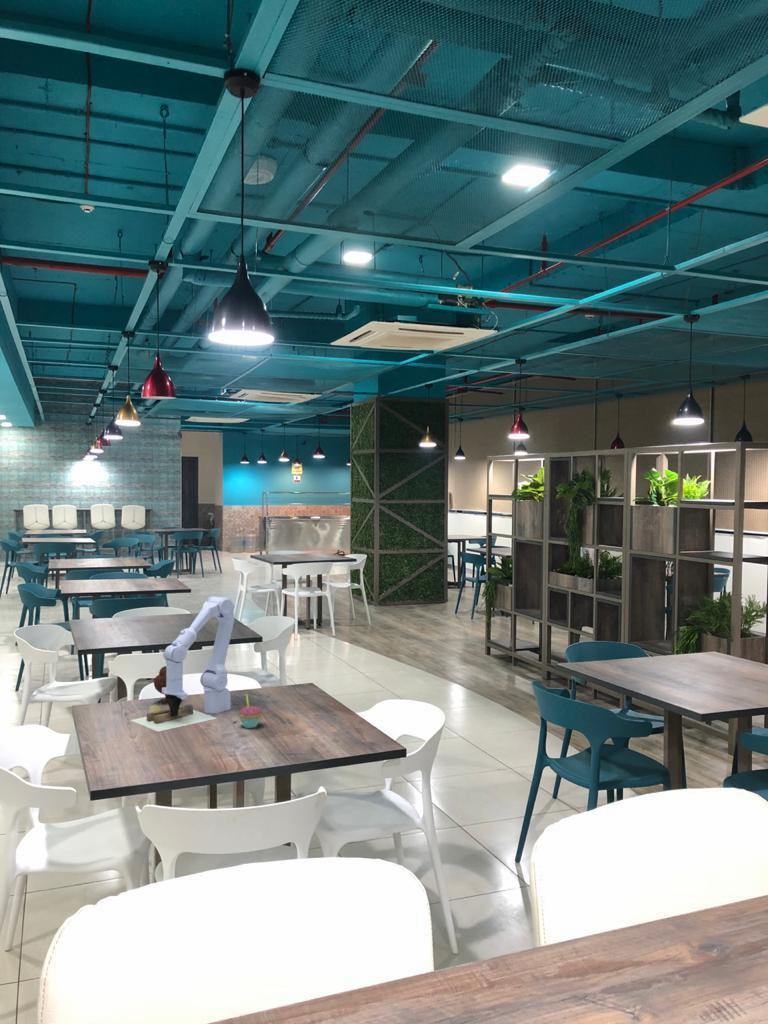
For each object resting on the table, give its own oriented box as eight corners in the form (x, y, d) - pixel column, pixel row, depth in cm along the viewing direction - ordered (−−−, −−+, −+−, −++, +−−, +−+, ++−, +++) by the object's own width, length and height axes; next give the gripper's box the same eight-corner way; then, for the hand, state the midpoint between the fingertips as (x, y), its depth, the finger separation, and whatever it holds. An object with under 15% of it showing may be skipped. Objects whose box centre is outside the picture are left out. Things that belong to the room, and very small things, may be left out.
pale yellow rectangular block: (156, 710, 298) (156, 705, 298) (162, 712, 295) (162, 707, 295) (149, 711, 296) (149, 706, 296) (154, 714, 293) (154, 708, 293)
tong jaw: (184, 714, 302) (184, 708, 302) (188, 715, 301) (188, 708, 301) (153, 722, 291) (153, 716, 291) (157, 723, 290) (157, 717, 290)
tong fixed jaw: (189, 711, 307) (189, 703, 306) (194, 713, 304) (194, 705, 304) (146, 720, 294) (146, 712, 294) (151, 722, 291) (151, 714, 291)
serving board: (188, 710, 312) (188, 708, 312) (217, 721, 297) (217, 718, 297) (130, 722, 295) (130, 720, 295) (157, 734, 281) (157, 731, 281)
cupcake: (233, 727, 289) (233, 694, 289) (248, 721, 297) (248, 689, 296) (253, 730, 285) (253, 696, 285) (267, 724, 293) (267, 691, 292)
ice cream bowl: (147, 707, 317) (147, 668, 317) (163, 700, 328) (163, 663, 328) (171, 709, 314) (171, 670, 314) (186, 702, 325) (186, 664, 324)
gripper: (154, 676, 297) (154, 714, 297) (175, 683, 287) (174, 721, 287) (171, 674, 302) (171, 710, 302) (192, 680, 292) (192, 718, 292)
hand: (174, 715), depth 295 cm, fingers closed, pressing on tong jaw
